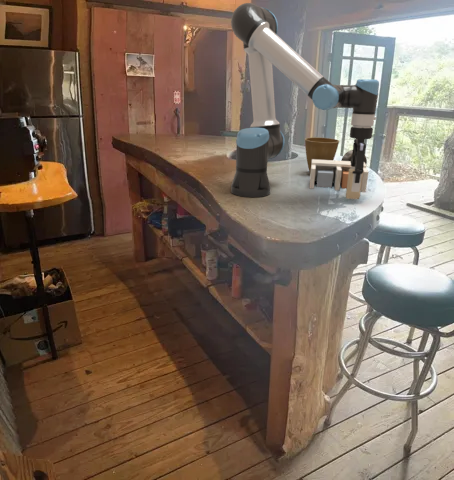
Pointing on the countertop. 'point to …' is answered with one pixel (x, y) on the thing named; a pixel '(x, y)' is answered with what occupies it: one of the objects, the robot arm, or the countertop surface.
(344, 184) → the corded block
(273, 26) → the robot arm
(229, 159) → the countertop surface
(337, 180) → the shelf lanes
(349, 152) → the alarm clock
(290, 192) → the countertop surface
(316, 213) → the countertop surface
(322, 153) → the plant pot
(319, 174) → the slate block
